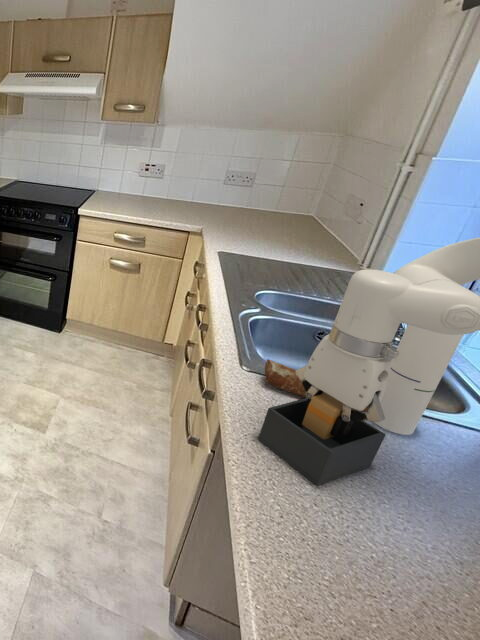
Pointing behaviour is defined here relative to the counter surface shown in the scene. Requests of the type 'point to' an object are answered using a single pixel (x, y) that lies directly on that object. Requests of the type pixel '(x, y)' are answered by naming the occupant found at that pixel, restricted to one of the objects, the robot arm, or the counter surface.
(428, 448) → the counter surface
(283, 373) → the bread
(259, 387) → the counter surface
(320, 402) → the carton
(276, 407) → the bin
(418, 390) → the cylindrical container
